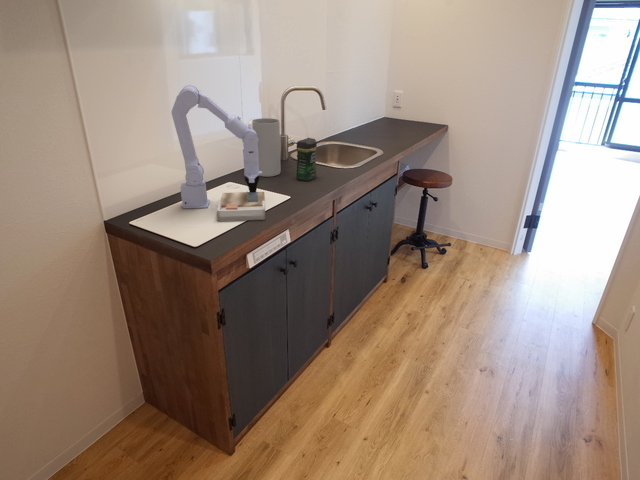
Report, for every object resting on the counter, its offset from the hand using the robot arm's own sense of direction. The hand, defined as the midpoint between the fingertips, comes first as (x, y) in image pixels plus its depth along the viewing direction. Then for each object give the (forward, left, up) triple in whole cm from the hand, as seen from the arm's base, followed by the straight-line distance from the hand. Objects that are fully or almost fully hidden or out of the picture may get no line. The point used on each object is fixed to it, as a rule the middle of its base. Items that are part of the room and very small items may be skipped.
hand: (253, 194), depth 168 cm
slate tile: (0, -5, -1) cm, 5 cm away
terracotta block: (-7, -15, -1) cm, 17 cm away
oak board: (-4, -3, -3) cm, 6 cm away
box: (-4, -14, -3) cm, 15 cm away
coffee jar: (+25, +28, -3) cm, 38 cm away
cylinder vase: (+7, +37, -3) cm, 38 cm away
